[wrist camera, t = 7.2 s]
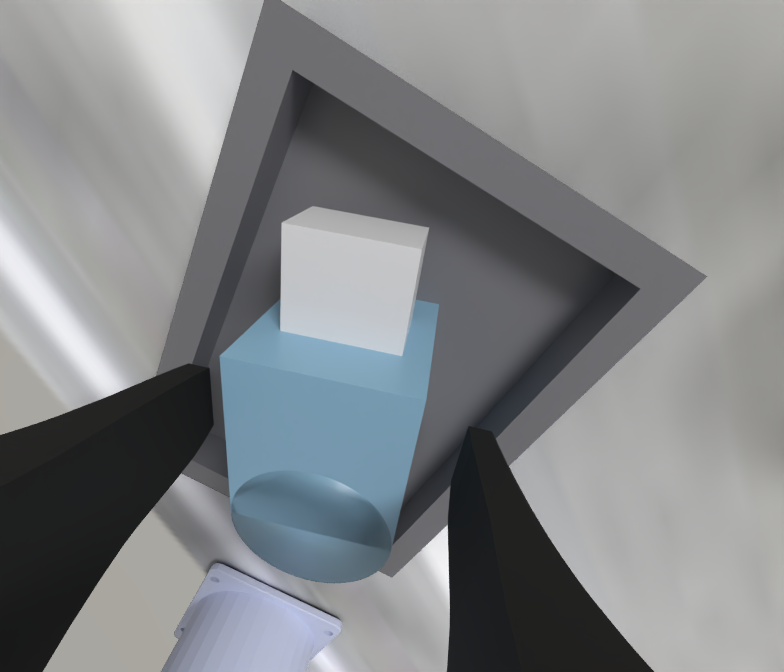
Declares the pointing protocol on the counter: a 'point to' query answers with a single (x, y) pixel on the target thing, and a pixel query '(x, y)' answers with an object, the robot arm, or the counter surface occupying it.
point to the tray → (441, 258)
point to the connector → (330, 397)
